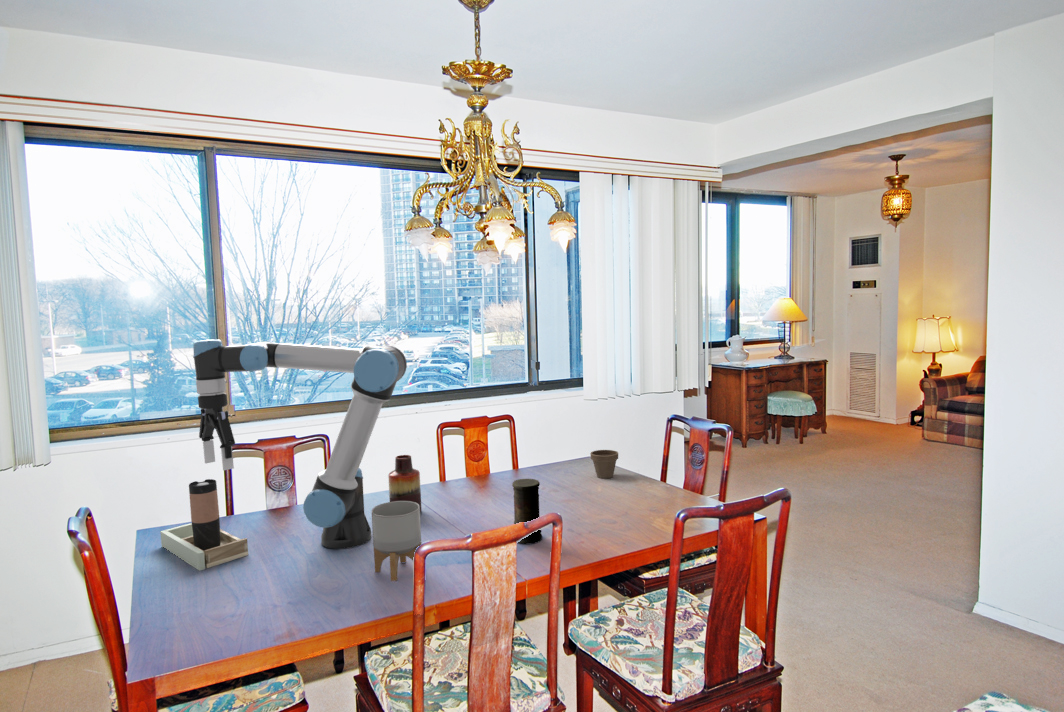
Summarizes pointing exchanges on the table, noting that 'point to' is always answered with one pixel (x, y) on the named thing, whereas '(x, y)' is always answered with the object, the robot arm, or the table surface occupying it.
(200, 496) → the travel mug
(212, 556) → the tray
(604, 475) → the flower pot
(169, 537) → the bay
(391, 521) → the planter
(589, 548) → the table surface
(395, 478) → the vase
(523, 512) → the container
